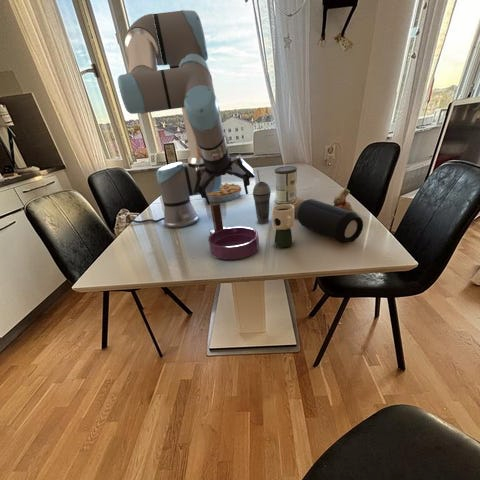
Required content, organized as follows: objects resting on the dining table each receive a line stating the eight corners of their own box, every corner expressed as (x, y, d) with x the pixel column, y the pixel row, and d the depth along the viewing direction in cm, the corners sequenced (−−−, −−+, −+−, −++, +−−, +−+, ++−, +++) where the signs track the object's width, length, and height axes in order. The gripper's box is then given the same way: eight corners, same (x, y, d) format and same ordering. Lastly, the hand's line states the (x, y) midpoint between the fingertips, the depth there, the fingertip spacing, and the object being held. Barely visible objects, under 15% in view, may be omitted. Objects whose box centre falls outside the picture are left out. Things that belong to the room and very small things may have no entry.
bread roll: (293, 227, 119) (299, 212, 113) (281, 211, 123) (285, 196, 116) (312, 221, 123) (318, 206, 116) (299, 206, 126) (305, 190, 119)
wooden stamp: (214, 240, 108) (208, 207, 101) (210, 236, 112) (204, 204, 104) (229, 236, 110) (225, 203, 102) (225, 232, 113) (220, 200, 106)
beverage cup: (270, 224, 115) (268, 170, 102) (253, 225, 117) (249, 172, 104) (272, 218, 120) (271, 166, 108) (255, 219, 122) (252, 167, 110)
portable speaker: (362, 241, 95) (367, 211, 89) (339, 249, 92) (343, 218, 86) (313, 221, 113) (315, 195, 107) (293, 227, 110) (294, 200, 104)
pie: (197, 197, 160) (195, 187, 157) (232, 189, 166) (231, 179, 163) (210, 206, 144) (209, 195, 141) (248, 196, 150) (248, 186, 146)
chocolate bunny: (332, 210, 121) (335, 185, 115) (352, 209, 119) (355, 184, 113) (332, 214, 117) (334, 189, 111) (352, 214, 115) (355, 188, 108)
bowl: (201, 255, 99) (198, 242, 96) (230, 237, 109) (228, 224, 106) (240, 265, 90) (238, 250, 87) (268, 244, 101) (267, 230, 97)
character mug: (267, 242, 102) (266, 205, 94) (285, 237, 104) (285, 201, 95) (280, 253, 94) (280, 214, 86) (300, 248, 95) (301, 209, 87)
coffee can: (280, 196, 144) (280, 165, 135) (299, 197, 139) (300, 166, 130) (271, 202, 138) (270, 171, 129) (290, 204, 133) (291, 171, 124)
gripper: (173, 174, 77) (194, 214, 98) (261, 149, 75) (264, 195, 96) (168, 151, 78) (191, 196, 99) (255, 125, 76) (259, 176, 97)
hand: (227, 196), depth 98 cm, fingers open, 13 cm apart
